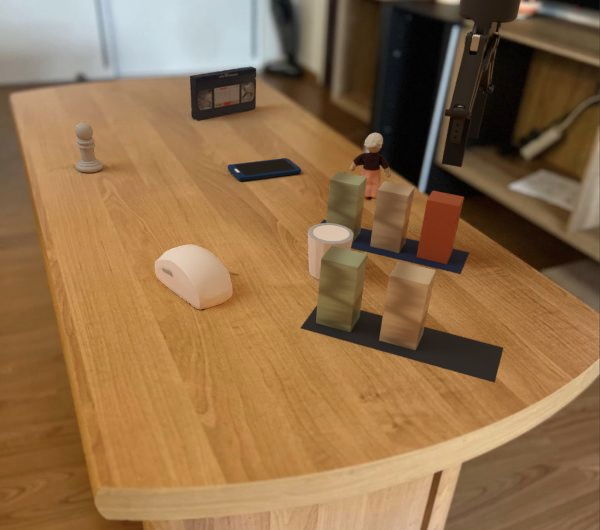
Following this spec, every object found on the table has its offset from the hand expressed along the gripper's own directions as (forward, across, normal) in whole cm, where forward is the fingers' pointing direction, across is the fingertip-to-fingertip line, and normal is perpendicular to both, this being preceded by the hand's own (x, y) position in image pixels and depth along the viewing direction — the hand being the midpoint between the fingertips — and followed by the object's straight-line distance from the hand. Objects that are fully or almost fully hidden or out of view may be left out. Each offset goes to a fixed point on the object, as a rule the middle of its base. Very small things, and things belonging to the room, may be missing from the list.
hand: (460, 150), depth 93 cm
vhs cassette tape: (+17, -50, -66) cm, 84 cm away
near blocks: (+18, +25, -4) cm, 31 cm away
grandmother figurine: (+18, -17, -18) cm, 31 cm away
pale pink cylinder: (+18, +13, -15) cm, 27 cm away
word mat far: (+18, 0, -9) cm, 20 cm away
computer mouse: (+18, +26, -31) cm, 44 cm away
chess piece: (+17, -4, -72) cm, 74 cm away
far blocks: (+17, 0, -13) cm, 22 cm away
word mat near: (+18, +25, 0) cm, 31 cm away
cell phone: (+18, -20, -41) cm, 49 cm away
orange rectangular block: (+18, 0, -1) cm, 18 cm away
